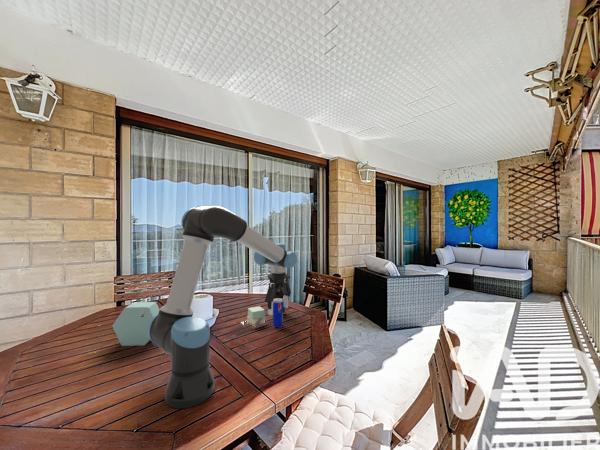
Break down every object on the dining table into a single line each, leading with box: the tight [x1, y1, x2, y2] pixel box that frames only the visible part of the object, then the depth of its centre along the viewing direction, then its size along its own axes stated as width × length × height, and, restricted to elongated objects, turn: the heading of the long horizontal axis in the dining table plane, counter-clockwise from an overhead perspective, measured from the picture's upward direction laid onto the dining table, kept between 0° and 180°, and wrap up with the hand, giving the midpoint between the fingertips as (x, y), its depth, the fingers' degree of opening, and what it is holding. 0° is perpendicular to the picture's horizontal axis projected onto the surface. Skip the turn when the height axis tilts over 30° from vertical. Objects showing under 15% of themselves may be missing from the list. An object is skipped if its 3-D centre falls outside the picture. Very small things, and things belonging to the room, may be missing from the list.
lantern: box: [266, 273, 291, 313], centre depth 159 cm, size 15×15×30 cm
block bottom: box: [246, 315, 266, 327], centre depth 142 cm, size 7×7×4 cm
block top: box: [247, 306, 266, 320], centre depth 142 cm, size 7×7×4 cm
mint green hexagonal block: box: [112, 301, 160, 347], centre depth 120 cm, size 17×8×21 cm
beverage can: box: [272, 298, 284, 328], centre depth 139 cm, size 5×5×15 cm
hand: (278, 310), depth 139 cm, fingers open, 13 cm apart
